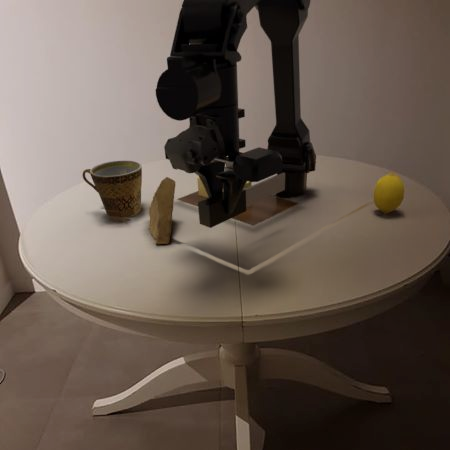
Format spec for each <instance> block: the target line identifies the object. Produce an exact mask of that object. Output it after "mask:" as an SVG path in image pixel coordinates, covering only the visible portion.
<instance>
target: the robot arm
mask: <svg viewBox="0 0 450 450" xmlns="http://www.w3.org/2000/svg"><path fill="white" fill-rule="evenodd" d="M310 5H311V0H183V1H182V4H181V8H180V10H179V13H178V18H177V22H176V26H175V27H176V28H175V32H174V36H173V40H172V44H171V48H170V54H169V56H167V57H166V64H167V65H166V66H167V69H165V70H163V72H162V73H161V74H160V75H159V78H158V80H157V82H156V88H155V97H156V102H157V103H158V106H159V108H160V110H161V111H162V112H163V113H164V114H165V115H166V116H167V117H169V118H170V119H172V120H173V121H179V122H180V121H186V120H188V119H189V125H188V128H186V129H185V130H182V131H181V132H180V133H178V135H176V136H174V137H171V138H168V139H167V141H166V142H165V145H164V146H163V148H164V155H165V160H168V161H169V163H170V165H171V167H172V169H174V170H179V171H183V172H185V173H187V174H195V175H197V177H200V179H201V181H202V183H203V185H204V187H205V189H206V192H207V195H208V197H209V198H210V197H212V196H214V195H217V194H219V193H221V192H224V202H225V209H226V213H227V214H231V213H233V211H234V209H235V206H236V204H237V202H238V199H239V197H240V195H241V192H242V190H243V188H244V186H245V184H246V182H247V181H249V182H251V183H260V182H262V181H264V180H267V179H269V178H271V177H274V176H276V175H278V174H280V173H285V190H283V191H281V192H279V193H277V194H275V197H279V198H282V199H286V200H288V199H291V198H298V197H302V196H304V195H305V194H306V191H307V182H308V174H310V173H311V172H315V171H316V166H317V165H316V164H317V154H316V151H315V149H314V146H313V143H312V142H311V134H310V130H309V127H308V126H307V125H306V123H305V122H304V121H303V119H302V116H301V115H302V114H301V112H302V111H301V75H300V43H299V42H300V37H299V36H300V34H301V31H302V29H303V27H304V26H305V23H306V21H307V19H308V18H309V17H308V16H309V8H310ZM253 8H255V9H256V11H257V13H258V14H257V15H258V21H259V27H260V28H261V30H262V31H263V32H264V35H266V37H267V39H268V40H269V42H270V47H271V63H272V67H271V68H272V80H273V96H274V110H275V125H274V127H273V129H272V131H271V133H270V135H269V137H268V138H267V148H264V147H256V148H253V149H250V150H248V151H244V152H242V151H240V149H244V148H246V146H247V145H246V139H244V138H240V119H243V118H245V116H246V113H245V112H246V111H245V110H246V109H245V108H239V88H238V87H239V86H238V64H237V63H240V62H241V61H242V55H241V53H240V52H239V51H238V49H239V46H240V43H241V40H242V38H243V35H244V34H245V32H246V31H247V29H248V21H247V18H248V17H247V16H248V14H249V13H250V12H251V11H252V10H253Z"/></svg>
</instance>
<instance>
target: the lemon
mask: <svg viewBox="0 0 450 450" xmlns="http://www.w3.org/2000/svg"><path fill="white" fill-rule="evenodd" d="M373 189H374V190H373V195H372V196H373V198H372V199H373V203H374V205H375V207H376V208H377V209H378V210H379V211H382V212H383V213H384V214H385V215H386V214H389V213H390V212H392V211H395V210H396V209H398V208H399V207H400V206H401V204H402V203H403V200H404V197H405V185H404V182H403V180H402V178H401V177H399V176H398V175H396V174H394V172H390V173H389V174H385V175H383V176H382V177H380V178H379V179H378V181H377V182H376V184H375V186H374V188H373Z"/></svg>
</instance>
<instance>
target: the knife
mask: <svg viewBox="0 0 450 450" xmlns="http://www.w3.org/2000/svg"><path fill="white" fill-rule="evenodd" d="M283 190H285V173H280V174H278V175H277V174H275V175H273V176H270V177H268V178H266V179H263V180H261V181H259V182H256V183H255V184H253V185H251V186H250V187H248V188H246V189H243V190H242V192H241V195H240V197H239V199H238V202H237V204H236V206H235V209H234V211H233V213H231V214H227V213H226V209H225V202H224V192H221V193H219V194H217V195H214V196H212V197H210V198H207V199H205V200H202V201H200V202H198V206H197V207H198V208H197V209H198V210H197V211H198V219H199V225H201V226H204V227H207V228H209V229H212V228H214V227H216V226H218V225H220V224H222V223H224V222H226V221H228V220H230V219H232V218H233V217H235V216H237V215H239V214H241V213H243V212H246V208H247V207H249V206H251V205H253V204H255V203H257V202H260V201H262V200H264V199H266V198H268V197H270V196H274V195H275V196H276V194H277V193H279V192H281V191H283Z"/></svg>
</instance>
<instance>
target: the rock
mask: <svg viewBox="0 0 450 450" xmlns="http://www.w3.org/2000/svg"><path fill="white" fill-rule="evenodd" d="M175 191H176V181H175V180H173V179H172V178H170V177H168V176H166V177H164V178H163V179H162V180H161V181H160V183H159V185H158V186H157V187H156V191H155V192H154V194H153V196H152V201H151V203H150V206H149V209H148V215H149V222H148V223H149V224H148V228H147V230H149V233H150V234H151V235H152V237H153V238H154V239H155V243H156V244H157V245H168V244H169V243H170V240H171V233H172V223H173V211H174V203H175V200H174V199H175Z"/></svg>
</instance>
